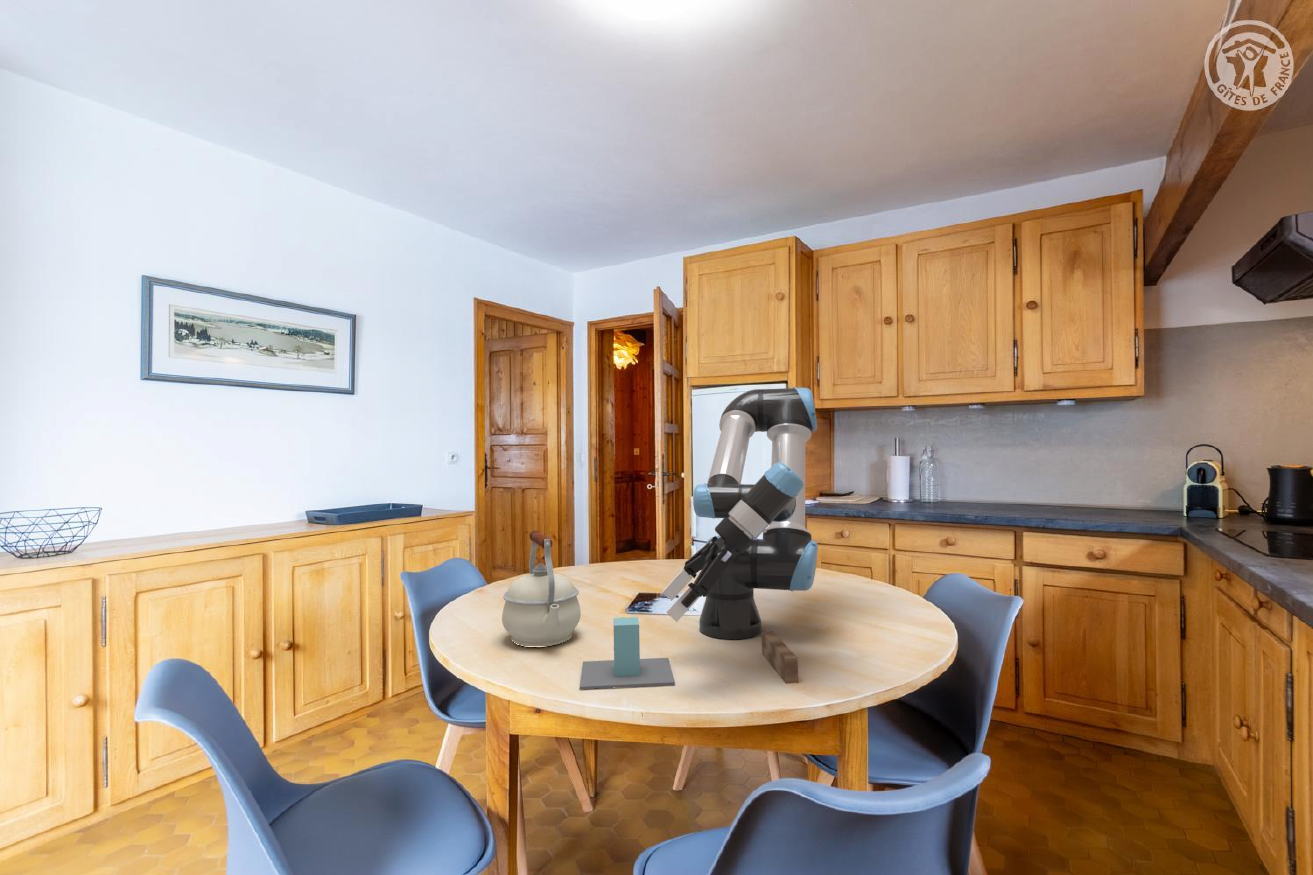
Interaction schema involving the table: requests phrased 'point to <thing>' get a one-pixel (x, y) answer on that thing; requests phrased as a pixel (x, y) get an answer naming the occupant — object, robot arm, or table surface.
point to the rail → (780, 657)
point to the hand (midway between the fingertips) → (668, 606)
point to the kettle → (541, 602)
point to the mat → (603, 676)
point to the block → (626, 647)
